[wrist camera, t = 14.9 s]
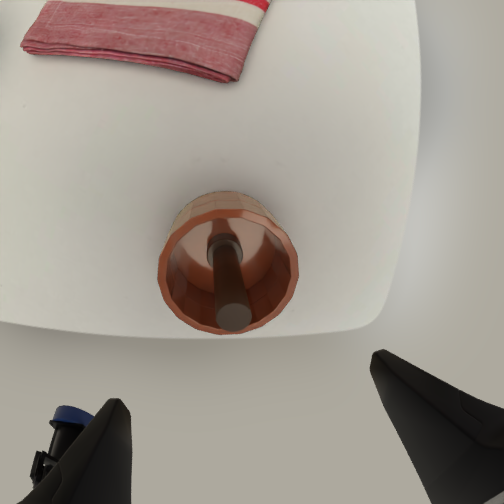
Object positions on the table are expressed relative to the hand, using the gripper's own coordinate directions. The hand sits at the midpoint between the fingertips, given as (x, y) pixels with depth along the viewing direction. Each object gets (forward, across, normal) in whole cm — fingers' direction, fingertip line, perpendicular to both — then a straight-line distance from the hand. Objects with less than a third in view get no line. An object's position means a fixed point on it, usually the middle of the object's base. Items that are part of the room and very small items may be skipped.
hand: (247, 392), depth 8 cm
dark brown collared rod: (+12, 0, 0) cm, 12 cm away
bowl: (+13, 0, 0) cm, 13 cm away
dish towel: (+13, 0, -25) cm, 28 cm away
